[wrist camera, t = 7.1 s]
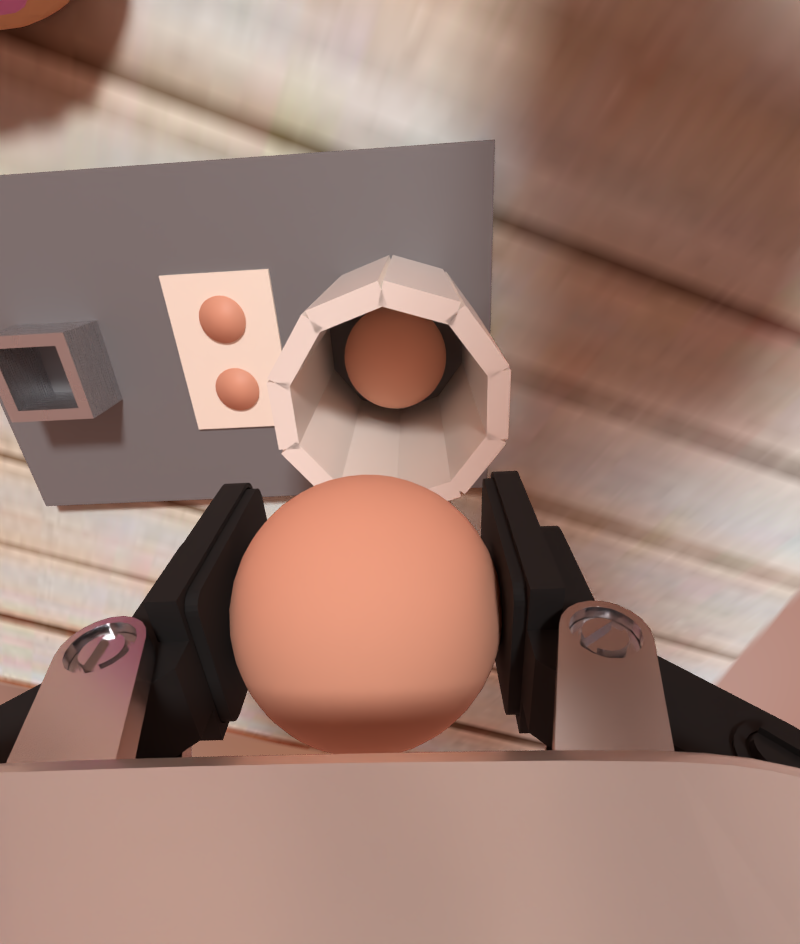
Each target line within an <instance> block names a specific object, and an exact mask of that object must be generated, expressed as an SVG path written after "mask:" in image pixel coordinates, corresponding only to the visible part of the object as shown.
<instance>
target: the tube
mask: <svg viewBox="0 0 800 944" xmlns="http://www.w3.org/2000/svg"><path fill="white" fill-rule="evenodd" d="M380 307H386V308H389V309H393V310H397V311H400V312H404V313H408V314H411V315H415V316H419V317H422V318H426V319H430V320H433V321H437V322H441V323H444V324H448V325H449V326H450V327H451V328H452V330H453V331H454V332H455V334H456V335H457V336H458V338H459V339H460V340H461V342H462V363H461V365H460V366H459V368H458V369H457V370H456V372H455V373H454V375H453V376H452V378H451V379H450V380H449V382H448V383H447V385H446V386H445V387H444V389H443V390H442V392H441V393H440V394H439V396H437V397H435V398H432V399H429V400H426V401H424V402H421V403H418V404H415V405H413V406H410V407H407V408H404V409H402V410H399V409H395V408H385V407H382V406H379V405H376V404H374V403H371V402H367V401H363V400H361V399H360V398H359V396H358V395H357V394H356V393H355V392H354V391H353V390H352V389H351V387H350V386H349V385H348V384H347V383H346V382H345V381H344V380H343V379H342V377H341V376H340V375H339V374H338V373H337V372H336V371H335V370H334V361H333V353H332V345H331V337H330V328H331V327H333V326H336V325H338V324H341V323H343V322H346V321H348V320H351V319H353V318H356V317H358V316H361V315H363V314H365V313H368V312H370V311H373V310H375V309H378V308H380ZM509 366H510V365H509V364H508V362H507V361H506V359H505V357H504V356H503V354H502V353H501V351H500V350H499V348H498V346H497V345H496V343H495V342H494V340H493V338H492V337H491V335H490V334H489V332H488V330H487V329H486V327H485V326H484V324H483V323H482V321H481V319H480V318H479V316H478V315H477V313H476V312H475V310H474V309H473V307H472V306H471V305H470V303H469V302H468V301H467V299H466V298H465V296H464V295H463V294H462V292H461V291H460V290H459V288H458V287H457V285H456V284H455V283H454V281H453V280H452V279H451V277H450V276H449V274H448V273H447V272H444V270H443V269H441V268H438V267H434V266H431V265H427V264H424V263H420V262H416V261H413V260H409V259H406V258H402V257H399V256H395V255H393V256H392V258H391V259H390V256H389V255H388V256H386V257H383V258H381V259H379V260H376V261H374V262H372V263H369V264H367V265H364V266H362V267H360V268H357V269H355V270H353V271H350V272H348V273H346V274H343V275H341V276H340V277H339V278H338V279H337V280H336V281H335V282H334V283H333V284H332V285H331V286H330V287H329V288H328V289H327V290H326V291H325V292H324V293H323V294H322V295H321V296H320V297H319V298H318V299H317V300H315V301H314V302H313V303H312V304H311V305H310V306H309V307H308V308H307V309H306V310H305V311H304V312H303V313H302V314H301V316H300V318H299V320H298V321H297V323H296V325H295V327H294V329H293V331H292V333H291V335H290V336H289V338H288V340H287V342H286V344H285V346H284V348H283V350H282V351H281V353H280V355H279V357H278V359H277V361H276V363H275V365H274V366H273V368H272V370H271V372H270V374H269V376H268V378H267V379H269V381H268V382H267V389H268V394H269V399H270V405H271V410H272V416H273V421H274V426H275V432H276V437H277V442H278V448H279V450H283V451H282V453H281V454H282V455H283V456H284V457H285V458H286V459H287V460H288V461H289V462H290V463H291V464H292V465H293V466H294V467H295V468H296V469H297V470H298V471H299V472H300V473H301V474H302V475H303V476H304V477H305V478H306V479H307V480H308V481H309V482H310V483H311V484H312V485H313V486H315V485H318V484H320V483H323V482H326V481H329V480H333V479H337V478H342V477H346V476H355V475H383V476H391V477H396V478H400V479H404V480H407V481H410V482H413V483H415V484H418V485H420V486H423V487H425V488H427V489H429V490H431V491H433V492H435V493H436V494H438V495H440V496H441V497H442V498H444V499H445V500H447V501H449V500H453V499H456V498H459V497H461V492H462V493H464V494H466V492H467V491H468V490H469V489H470V488H471V486H472V485H473V484H474V483H475V481H476V480H477V479H478V478H479V477H480V475H481V474H482V473H483V472H484V470H485V469H486V468H487V467H488V465H489V464H490V463H491V462H492V461H493V459H494V458H495V457H496V456H497V454H498V453H499V452H500V451H501V450H502V448H503V447H504V446H505V445H506V441H505V439H508V430H509V407H510V384H511V370H510V368H509ZM460 491H461V492H460Z"/></svg>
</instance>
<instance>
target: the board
mask: <svg viewBox="0 0 800 944" xmlns="http://www.w3.org/2000/svg"><path fill="white" fill-rule="evenodd" d="M494 152H495V140H485V141H471V142H457V143H443V144H429V145H415V146H401V147H387V148H373V149H359V150H345V151H331V152H317V153H303V154H290V155H276V156H262V157H248V158H234V159H220V160H206V161H192V162H178V163H164V164H150V165H136V166H122V167H108V168H94V169H80V170H66V171H53V172H39V173H25V174H11V175H0V330H2V329H5V328H8V327H12V326H15V325H24V324H41V323H58V322H75V321H92V320H97V321H98V324H99V327H100V331H101V334H102V337H103V340H104V343H105V346H106V349H107V352H108V355H109V358H110V361H111V364H112V367H113V370H114V373H115V376H116V379H117V383H118V386H119V389H120V392H121V395H122V398H123V399H122V400H121V401H119V402H118V403H116V404H115V405H113V406H112V407H110V408H109V409H107V410H106V411H104V412H103V413H101V414H100V415H98V416H97V417H95V418H93V419H73V420H53V421H33V422H13V423H12V422H11V419H10V417H9V415H8V413H7V410H6V408H5V406H4V404H3V401H2V399H1V397H0V403H1V406H2V408H3V410H4V412H5V415H6V417H7V419H8V421H9V424H10V426H11V428H12V430H13V433H14V435H15V437H16V439H17V442H18V444H19V446H20V448H21V451H22V453H23V455H24V457H25V460H26V462H27V464H28V466H29V468H30V471H31V473H32V475H33V477H34V480H35V482H36V484H37V486H38V489H39V491H40V493H41V495H42V498H43V500H44V502H45V504H46V506H58V505H82V504H106V503H129V502H153V501H176V500H200V499H214V497H215V496H216V494H217V493H218V491H219V490H220V488H221V487H222V486H223V485H224V484H230V483H250V484H251V485H252V487H253V489H256V488H258V489H259V490H260V491H261V494H262V497H271V496H294V495H298V494H300V493H301V492H303V491H305V490H307V489H309V488H311V487H313V485H312V484H311V483H310V482H309V481H308V480H307V479H306V478H305V477H304V476H303V475H302V474H301V473H300V472H299V471H298V470H297V469H296V468H295V467H294V466H293V465H292V464H291V463H290V462H289V461H288V460H287V459H286V458H285V457H284V456H283V455H282V454H281V453H282V451H283V450H279V448H278V442H277V437H276V432H275V426H274V421H273V416H272V410H271V405H270V399H269V394H268V389H267V382H268V381H269V379H267V378H268V376H269V374H270V372H271V370H272V368H273V366H274V365H275V363H276V361H277V359H278V357H279V355H280V353H281V351H282V350H283V348H284V346H285V344H286V342H287V340H288V338H289V336H290V335H291V333H292V331H293V329H294V327H295V325H296V323H297V321H298V320H299V318H300V316H301V314H302V313H303V312H304V311H305V310H306V309H307V308H308V307H309V306H310V305H311V304H312V303H313V302H314V301H315V300H317V299H318V298H319V297H320V296H321V295H322V294H323V293H324V292H325V291H326V290H327V289H328V288H329V287H330V286H331V285H332V284H333V283H334V282H335V281H336V280H337V279H338V278H339V277H340V276H341V275H343V274H346V273H348V272H350V271H353V270H355V269H357V268H360V267H362V266H364V265H367V264H369V263H372V262H374V261H376V260H379V259H381V258H383V257H386V256H388V255H389V256H390V259H391V258H392V256H393V255H395V256H399V257H402V258H406V259H409V260H413V261H416V262H420V263H424V264H427V265H431V266H434V267H438V268H441V269H443V270H444V272H447V273H448V274H449V276H450V277H451V279H452V280H453V281H454V283H455V284H456V285H457V287H458V288H459V290H460V291H461V292H462V294H463V295H464V296H465V298H466V299H467V301H468V302H469V303H470V305H471V306H472V307H473V309H474V310H475V312H476V313H477V315H478V316H479V318H480V319H481V321H482V323H483V324H484V326H485V327H486V329H487V330H488V332H489V334H490V325H491V282H492V239H493V195H494ZM365 314H366V313H365ZM365 314H363V315H361V316H358V317H356V318H353V319H351V320H348V321H346V322H343V323H341V324H338V325H336V326H333V327H331V328H330V337H331V345H332V353H333V361H334V370H335V371H336V372H337V373H338V374H339V375H340V376H341V377H342V379H343V380H344V381H345V382H346V383H347V384H348V385H349V386H350V387H351V389H352V390H353V391H354V392H355V393H356V394H357V395H358V396H359V398H360V399H361V400H363V401H367V402H370V401H368V400H367V399H366V398H364V397H363V396H362V395H361V394H360V393H359V392H358V391H357V390H356V389H355V387H354V386H353V384H352V383H351V381H350V379H349V376H348V373H347V370H346V366H345V356H344V355H345V347H346V342H347V339H348V336H349V334H350V332H351V330H352V328H353V327H354V325H355V324H356V323H357V322H358V321H359V320H360V319H361V318H362V317H363V316H364V315H365ZM432 321H433V320H432ZM433 322H434V323H435V325H436V326H437V328H438V329H439V331H440V333H441V335H442V337H443V340H444V343H445V348H446V365H445V370H444V373H443V376H442V378H441V380H440V382H439V384H438V385H437V387H436V388H435V390H434V391H433V392H432V393H431V394H430V395H429V396H428V397H427V398H425V399H424V400H423V401H421V402H424V401H426V400H429V399H432V398H435V397H437V396H439V394H440V393H441V392H442V390H443V389H444V387H445V386H446V385H447V383H448V382H449V380H450V379H451V378H452V376H453V375H454V373H455V372H456V370H457V369H458V368H459V366H460V365H461V363H462V342H461V340H460V339H459V338H458V336H457V335H456V334H455V332H454V331H453V330H452V328H451V327H450V326H449V325H448V324H444V323H441V322H437V321H433ZM37 349H38V351H39V354H40V356H41V359H42V362H43V364H44V367H45V369H46V372H47V374H48V377H49V380H50V382H51V385H52V387H53V390H54V392H72V389H71V387H70V384H69V381H68V379H67V376H66V373H65V371H64V368H63V365H62V363H61V360H60V357H59V354H58V352H57V349H56V346H42V347H37ZM421 402H419V403H421ZM371 403H372V402H371ZM417 404H418V403H417ZM412 406H413V405H412ZM409 407H410V406H409ZM405 408H407V407H405ZM395 409H397V408H395ZM398 409H399V410H402V409H404V408H398ZM483 479H487V468H486V469H485V470H484V472H483V473H482V474H481V475H480V477H479V478H478V479H477V480H476V481H475V483H474V484H473V485H472V486H471V488H482V481H483Z"/></svg>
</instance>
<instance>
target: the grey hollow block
mask: <svg viewBox="0 0 800 944" xmlns="http://www.w3.org/2000/svg"><path fill="white" fill-rule="evenodd" d="M42 346H56V349H57V352H58V354H59V357H60V360H61V363H62V365H63V368H64V371H65V373H66V376H67V379H68V381H69V384H70V387H71V389H72V392H54V390H53V387H52V385H51V382H50V380H49V377H48V374H47V372H46V369H45V367H44V364H43V362H42V359H41V356H40V354H39V351H38V349H37V347H42ZM0 397H1V399H2V401H3V404H4V406H5V408H6V410H7V413H8V415H9V417H10V419H11V422H12V423H13V422H33V421H53V420H73V419H93V418H95V417H97V416H98V415H100V414H101V413H103V412H104V411H106V410H107V409H109V408H110V407H112V406H113V405H115V404H116V403H118V402H119V401H121V400H122V399H123V398H122V395H121V392H120V389H119V386H118V383H117V379H116V376H115V373H114V370H113V367H112V364H111V361H110V358H109V355H108V352H107V349H106V346H105V343H104V340H103V337H102V334H101V331H100V327H99V324H98V321H97V320H92V321H75V322H58V323H41V324H24V325H15V326H12V327H8V328H5V329H2V330H0Z"/></svg>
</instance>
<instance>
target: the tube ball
mask: <svg viewBox="0 0 800 944" xmlns="http://www.w3.org/2000/svg"><path fill="white" fill-rule="evenodd" d="M344 356H345V366H346V370H347V373H348V376H349V379H350V381H351V383H352V384H353V386H354V387H355V389H356V390H357V391H358V392H359V393H360V394H361V395H362V396H363V397H364V398H366V399H367V400H368V401H370V402H372V403H374V404H376V405H379V406H382V407H385V408H397V409H398V408H405V407H409V406H412V405H415V404H417V403H419V402H421V401H423V400H424V399H425V398H427V397H428V396H429V395H430V394H431V393H432V392H433V391H434V390H435V388H436V387H437V385H438V384H439V382H440V380H441V378H442V376H443V373H444V370H445V365H446V348H445V343H444V340H443V337H442V335H441V333H440V331H439V329H438V328H437V326H436V325H435V323H434V322H433V321H432V320H430V319H426V318H422V317H419V316H415V315H411V314H408V313H404V312H400V311H397V310H393V309H389V308H386V307H380V308H378V309H375V310H373V311H370V312H368V313H366V314H365V315H364V316H363V317H362V318H361V319H360V320H359V321H358V322H357V323H356V324H355V325H354V327H353V328H352V330H351V332H350V334H349V336H348V339H347V342H346V347H345V355H344Z"/></svg>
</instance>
